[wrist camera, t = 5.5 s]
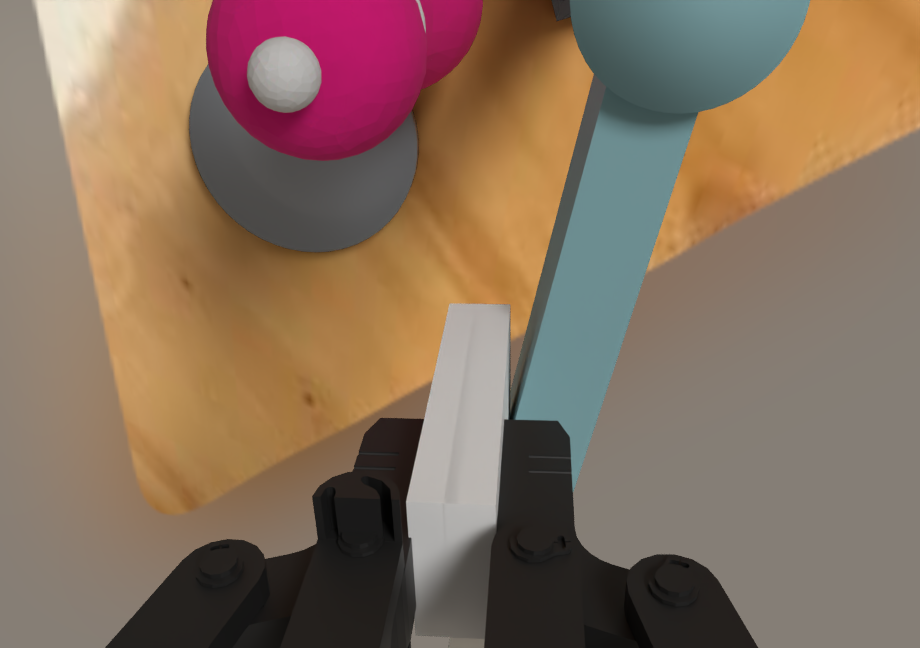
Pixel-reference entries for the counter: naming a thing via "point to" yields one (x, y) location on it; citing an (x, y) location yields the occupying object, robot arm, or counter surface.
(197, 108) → the slate coaster
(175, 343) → the counter surface
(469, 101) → the counter surface
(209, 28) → the pepper mill
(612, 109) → the pegged blue crossbar
